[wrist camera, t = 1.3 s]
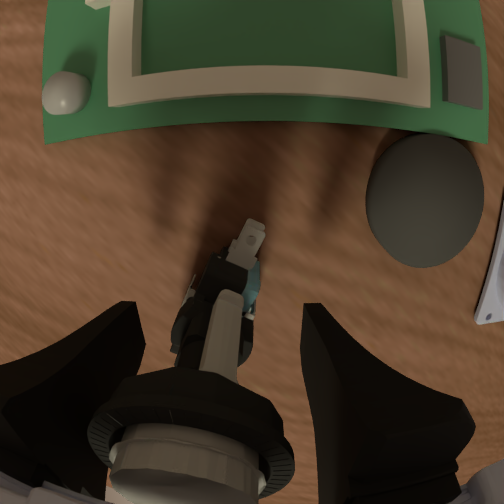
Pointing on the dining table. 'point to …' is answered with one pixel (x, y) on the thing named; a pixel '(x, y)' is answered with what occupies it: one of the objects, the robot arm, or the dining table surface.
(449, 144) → the dark gray round disc
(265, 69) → the circuit board
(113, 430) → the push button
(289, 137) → the dining table surface
